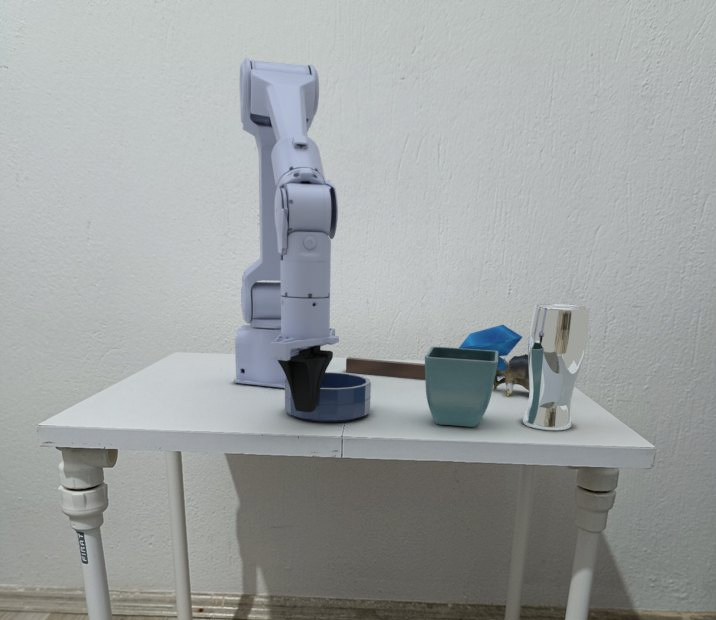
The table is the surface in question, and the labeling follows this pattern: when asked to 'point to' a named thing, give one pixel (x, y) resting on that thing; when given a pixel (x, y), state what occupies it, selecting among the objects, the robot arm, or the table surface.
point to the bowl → (336, 398)
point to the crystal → (493, 342)
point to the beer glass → (554, 363)
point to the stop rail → (385, 368)
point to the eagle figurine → (514, 373)
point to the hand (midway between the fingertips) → (305, 410)
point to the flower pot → (459, 384)
